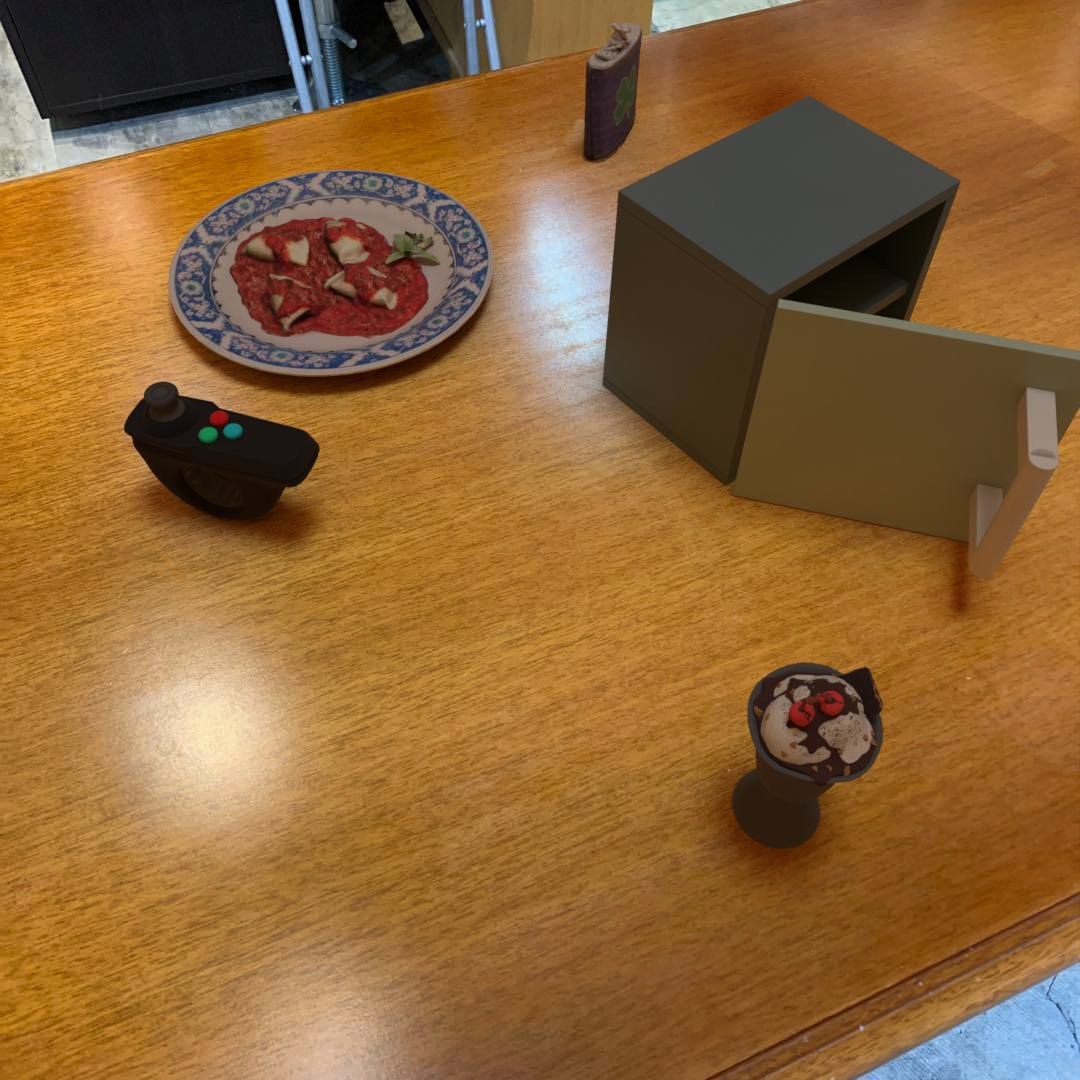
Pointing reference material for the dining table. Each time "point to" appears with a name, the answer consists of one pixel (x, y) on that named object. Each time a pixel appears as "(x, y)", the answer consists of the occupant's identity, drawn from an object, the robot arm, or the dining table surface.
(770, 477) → the door
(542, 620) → the dining table surface
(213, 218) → the ceramic plate
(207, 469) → the controller
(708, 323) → the cupboard
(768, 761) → the sundae
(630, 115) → the flask
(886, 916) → the dining table surface
